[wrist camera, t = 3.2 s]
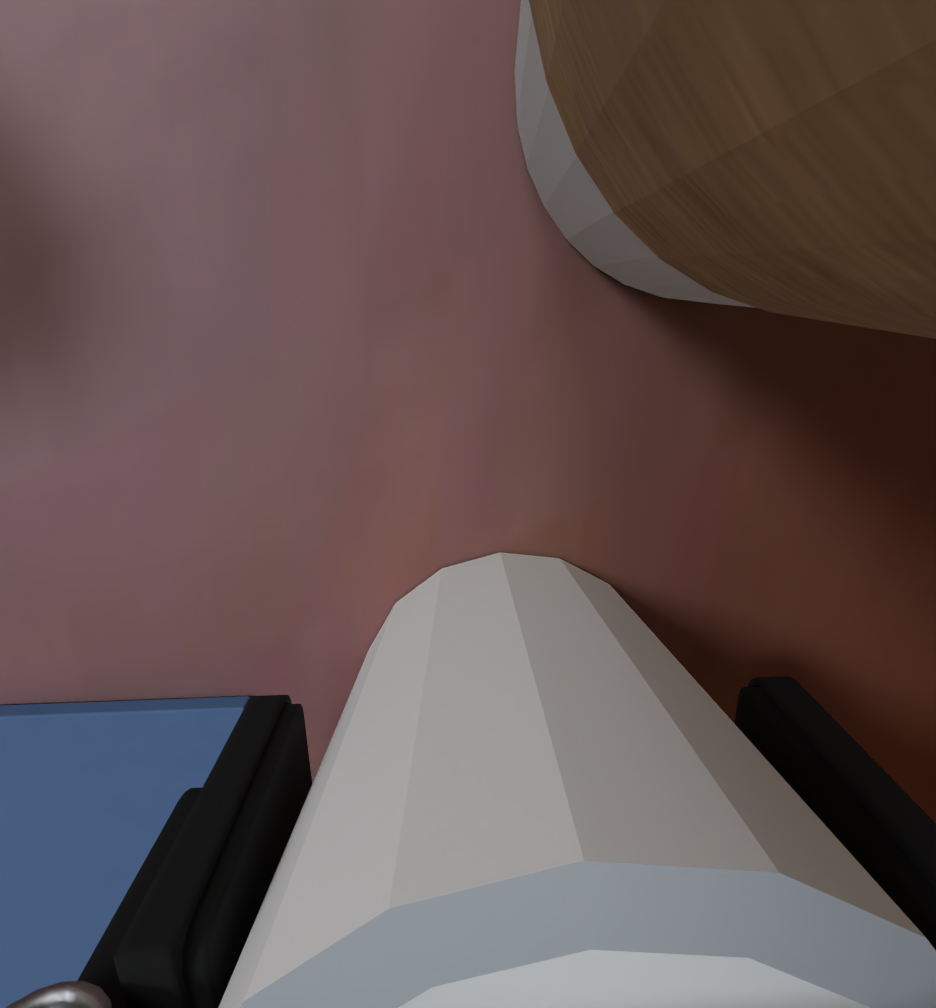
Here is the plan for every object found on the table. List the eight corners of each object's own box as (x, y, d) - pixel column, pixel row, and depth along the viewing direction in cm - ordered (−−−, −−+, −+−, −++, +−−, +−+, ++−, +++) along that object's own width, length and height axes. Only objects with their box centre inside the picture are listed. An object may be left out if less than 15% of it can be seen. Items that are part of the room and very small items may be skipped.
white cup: (261, 621, 11) (-38, 1105, 4) (600, 453, 10) (902, 713, 3) (435, 869, 13) (423, 1472, 6) (730, 743, 12) (1087, 1273, 5)
